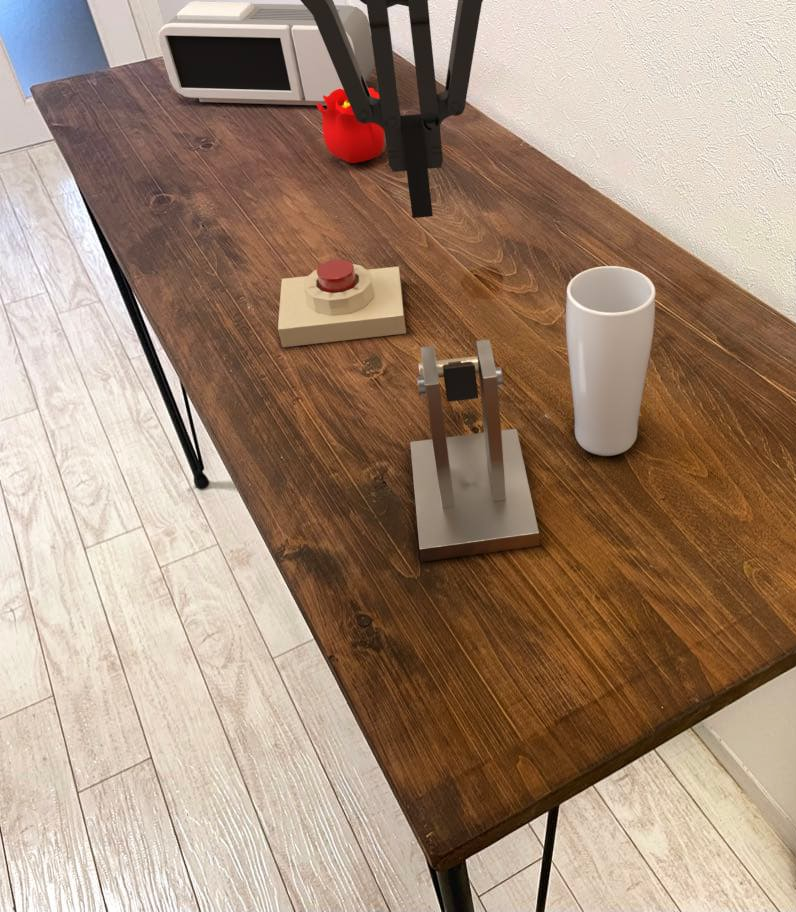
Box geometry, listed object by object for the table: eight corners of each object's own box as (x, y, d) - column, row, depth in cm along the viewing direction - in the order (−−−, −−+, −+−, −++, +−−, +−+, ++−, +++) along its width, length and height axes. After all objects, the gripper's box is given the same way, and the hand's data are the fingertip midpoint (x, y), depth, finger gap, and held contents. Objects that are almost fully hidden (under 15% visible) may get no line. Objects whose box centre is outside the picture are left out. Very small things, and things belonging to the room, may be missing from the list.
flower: (395, 165, 117) (386, 103, 111) (335, 177, 115) (323, 114, 110) (379, 141, 122) (370, 80, 117) (322, 151, 120) (310, 90, 115)
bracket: (412, 454, 78) (390, 319, 69) (517, 441, 79) (509, 306, 69) (421, 562, 69) (398, 425, 60) (539, 545, 70) (534, 408, 61)
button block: (282, 347, 89) (273, 313, 87) (286, 296, 96) (277, 263, 93) (406, 333, 91) (401, 299, 88) (401, 284, 97) (396, 250, 94)
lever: (421, 384, 78) (417, 356, 78) (491, 376, 79) (487, 348, 78) (420, 405, 64) (415, 371, 64) (505, 395, 65) (501, 361, 65)
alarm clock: (176, 105, 132) (150, 18, 124) (202, 80, 139) (178, -4, 131) (361, 111, 129) (347, 22, 121) (378, 85, 136) (366, -1, 128)
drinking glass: (550, 431, 80) (547, 282, 69) (613, 402, 82) (620, 255, 72) (596, 476, 76) (601, 326, 65) (661, 444, 78) (675, 294, 68)
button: (319, 296, 89) (316, 280, 88) (320, 276, 92) (316, 261, 91) (357, 292, 90) (354, 276, 89) (356, 272, 92) (353, 257, 91)
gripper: (484, -190, 56) (502, 177, 72) (263, -178, 54) (333, 192, 70) (498, -166, 50) (515, 225, 66) (254, -153, 49) (332, 242, 65)
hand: (421, 208), depth 68 cm, fingers closed
